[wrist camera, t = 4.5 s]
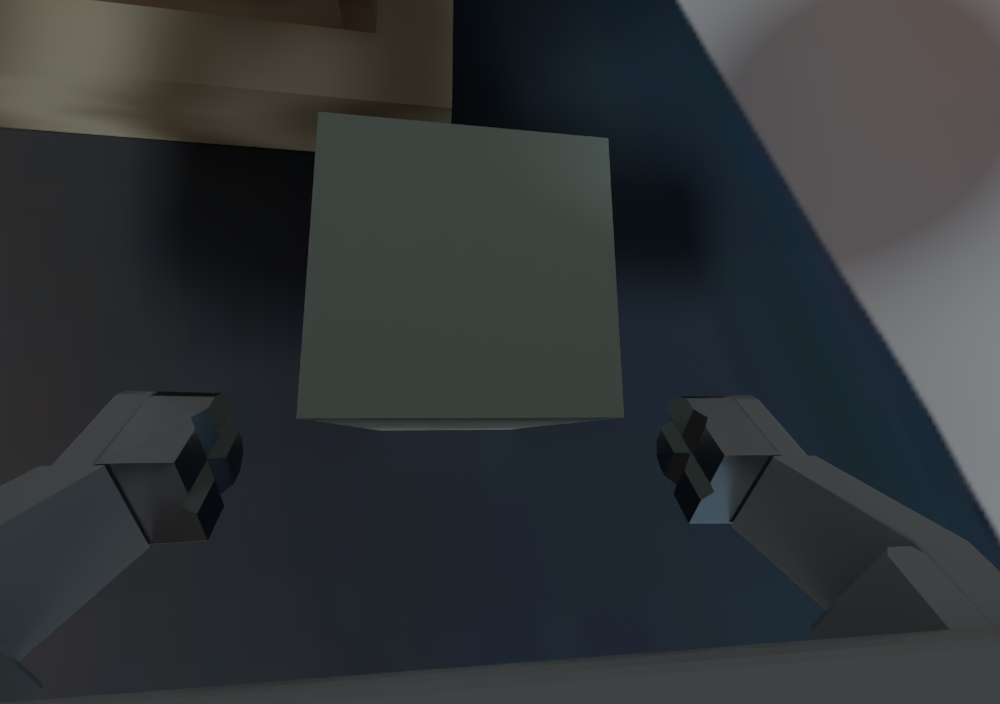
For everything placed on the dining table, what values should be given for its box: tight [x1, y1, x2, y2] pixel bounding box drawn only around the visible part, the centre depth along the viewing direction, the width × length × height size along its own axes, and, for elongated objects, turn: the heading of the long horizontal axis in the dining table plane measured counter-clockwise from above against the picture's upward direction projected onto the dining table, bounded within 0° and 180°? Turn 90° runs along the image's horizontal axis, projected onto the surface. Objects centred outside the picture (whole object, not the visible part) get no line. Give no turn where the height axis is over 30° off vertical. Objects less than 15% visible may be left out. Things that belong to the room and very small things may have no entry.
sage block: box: [296, 112, 624, 430], centre depth 12 cm, size 4×4×10 cm
